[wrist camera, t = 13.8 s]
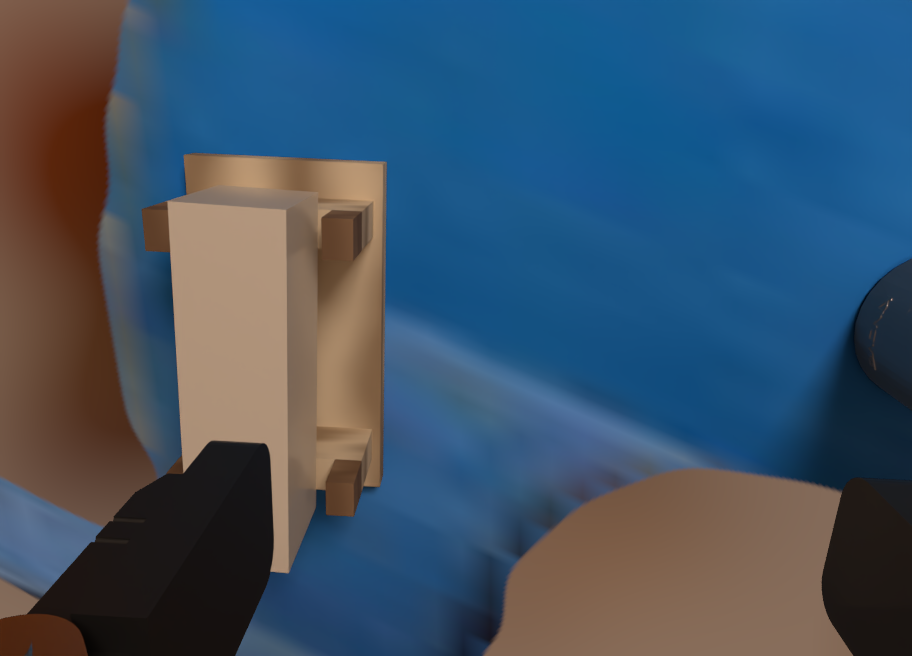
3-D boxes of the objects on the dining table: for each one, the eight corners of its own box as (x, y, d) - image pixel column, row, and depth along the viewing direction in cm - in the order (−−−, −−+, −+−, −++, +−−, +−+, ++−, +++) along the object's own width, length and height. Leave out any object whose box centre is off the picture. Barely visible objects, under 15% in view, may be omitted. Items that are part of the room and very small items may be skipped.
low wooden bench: (386, 162, 40) (363, 176, 32) (383, 474, 46) (363, 548, 39) (194, 153, 40) (126, 165, 33) (216, 465, 46) (163, 537, 39)
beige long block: (318, 192, 35) (286, 209, 29) (315, 506, 41) (288, 573, 35) (218, 185, 35) (167, 201, 30) (230, 500, 41) (188, 565, 35)
